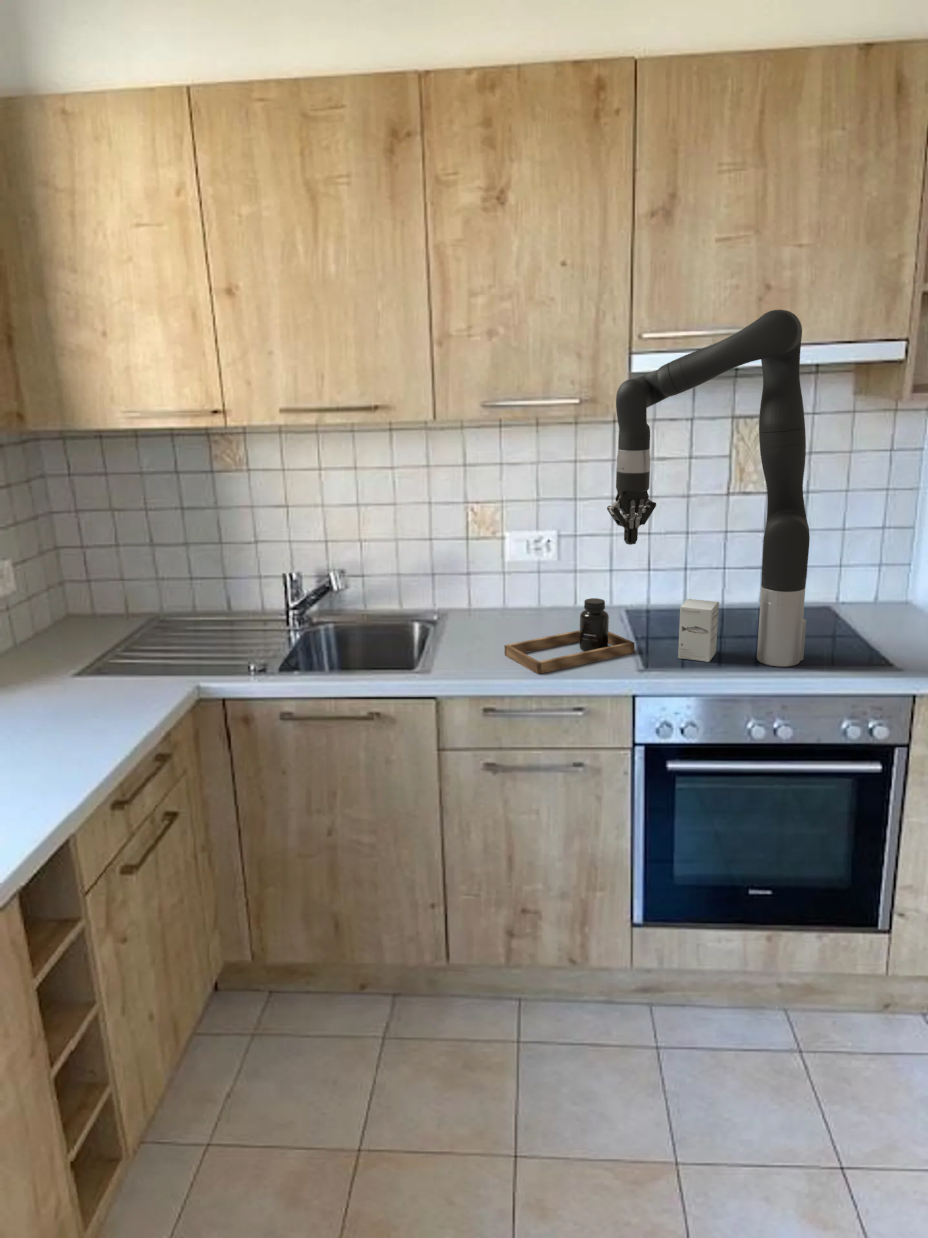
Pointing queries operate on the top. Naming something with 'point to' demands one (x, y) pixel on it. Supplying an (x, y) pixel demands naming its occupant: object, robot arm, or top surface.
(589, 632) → the supplement bottle
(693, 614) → the supplement box
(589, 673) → the top surface
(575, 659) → the walnut frame
